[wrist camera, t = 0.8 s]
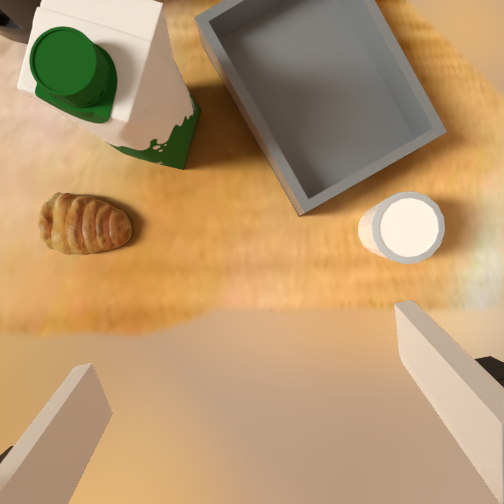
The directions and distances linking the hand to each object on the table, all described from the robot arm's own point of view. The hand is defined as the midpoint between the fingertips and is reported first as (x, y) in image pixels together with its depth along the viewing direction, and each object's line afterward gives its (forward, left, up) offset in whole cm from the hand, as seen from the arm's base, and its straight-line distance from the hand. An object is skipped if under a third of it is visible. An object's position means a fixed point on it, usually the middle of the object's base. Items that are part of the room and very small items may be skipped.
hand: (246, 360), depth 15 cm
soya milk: (-20, 0, -26) cm, 33 cm away
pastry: (-16, -13, -26) cm, 33 cm away
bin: (-15, +16, -26) cm, 34 cm away
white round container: (+2, +16, -26) cm, 30 cm away
